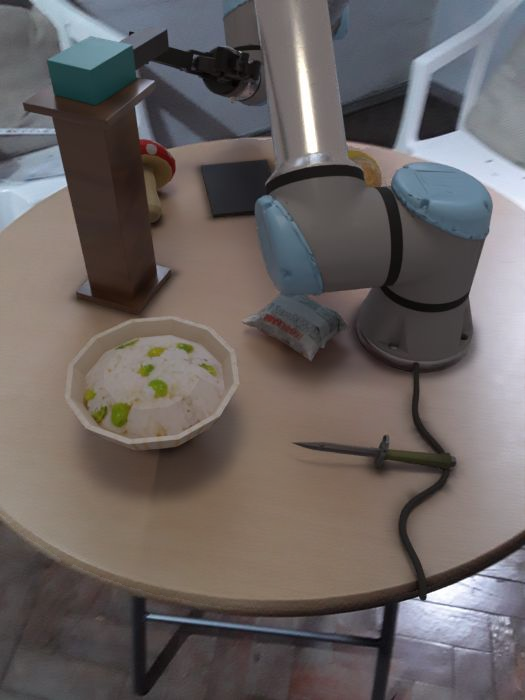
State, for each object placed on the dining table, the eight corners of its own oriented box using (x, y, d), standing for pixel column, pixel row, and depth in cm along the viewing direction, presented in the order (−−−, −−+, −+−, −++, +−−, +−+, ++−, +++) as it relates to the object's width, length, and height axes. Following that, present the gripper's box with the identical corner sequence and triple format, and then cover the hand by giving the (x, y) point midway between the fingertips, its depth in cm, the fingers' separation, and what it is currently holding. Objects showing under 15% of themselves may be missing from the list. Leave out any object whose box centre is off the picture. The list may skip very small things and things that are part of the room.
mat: (284, 210, 113) (284, 207, 113) (213, 217, 112) (213, 214, 111) (266, 162, 124) (266, 159, 124) (201, 168, 123) (200, 165, 122)
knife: (287, 461, 76) (295, 433, 72) (288, 446, 77) (295, 418, 73) (451, 480, 77) (466, 454, 73) (448, 465, 78) (463, 439, 75)
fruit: (301, 210, 113) (303, 156, 106) (344, 187, 118) (350, 133, 111) (346, 237, 108) (352, 181, 101) (390, 211, 113) (398, 156, 106)
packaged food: (310, 373, 87) (312, 346, 83) (241, 332, 92) (240, 304, 89) (349, 338, 92) (353, 311, 88) (281, 301, 97) (283, 273, 94)
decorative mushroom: (155, 189, 102) (145, 113, 108) (98, 220, 106) (92, 145, 112) (197, 221, 111) (186, 150, 117) (144, 249, 115) (135, 178, 121)
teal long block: (96, 105, 76) (90, 70, 73) (53, 95, 78) (46, 59, 75) (179, 51, 87) (176, 18, 84) (140, 42, 89) (136, 10, 86)
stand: (139, 318, 94) (106, 120, 74) (71, 298, 97) (22, 102, 76) (176, 272, 101) (155, 80, 81) (112, 255, 104) (76, 65, 84)
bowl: (54, 483, 75) (33, 426, 68) (106, 359, 88) (93, 301, 81) (226, 504, 73) (223, 448, 66) (253, 374, 87) (252, 316, 80)
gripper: (295, 110, 111) (251, 93, 91) (160, 84, 117) (92, 63, 98) (305, 62, 109) (262, 33, 89) (167, 38, 115) (98, 7, 96)
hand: (173, 49), depth 94 cm, fingers open, 13 cm apart
